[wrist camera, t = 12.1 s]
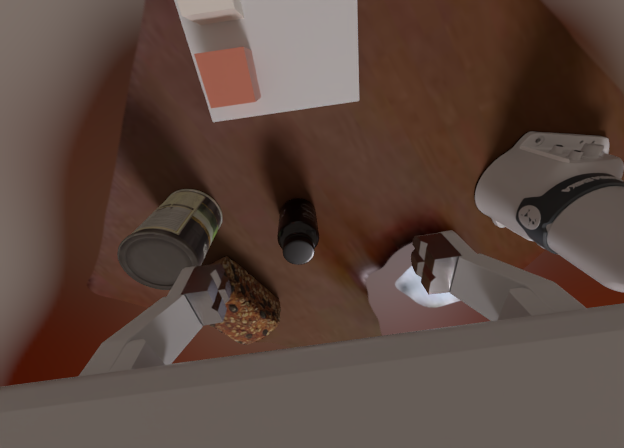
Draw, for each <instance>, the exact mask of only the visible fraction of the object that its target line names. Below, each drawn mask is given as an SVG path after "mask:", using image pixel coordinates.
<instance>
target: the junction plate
mask: <svg viewBox="0 0 624 448" xmlns="http://www.w3.org/2000/svg"><path fill="white" fill-rule="evenodd" d="M174 1H175V4H176V7H177V10H178V14H179V17H180V20H181V23H182V26H183V29H184V32H185V36H186V39H187V42H188V45H189V48H190V51H191V54H192V58H193V61H194V64H195V67H196V70H197V73H198V76H199V80H200V83H201V86H202V89H203V92H204V95H205V98H206V102H207V105H208V108H209V111H210V114H211V117H212V120H213V122H218V121H225V120H231V119H238V118H245V117H252V116H259V115H266V114H273V113H280V112H286V111H293V110H300V109H307V108H314V107H321V106H328V105H334V104H341V103H348V102H355V101H359V66H358V17H357V0H241V5H242V10H243V14H244V19H238V20H231V21H224V22H218V23H211V24H204V25H199V24H197V23H195V22H193V21H191V20H189V19H187V18H185V17H183V16H182V15H181V12H180V9H179V6H178V2H177V0H174ZM237 47H245V48H248V49H250V50H251V51H252V56H253V60H254V65H255V70H256V75H257V80H258V84H259V89H260V94H261V98H260V99H259V100H257V101H256V102H252V103H245V104H238V105H231V106H224V107H217V108H211V106H210V103H209V100H208V97H207V94H206V91H205V87H204V84H203V81H202V78H201V75H200V71H199V68H198V65H197V62H196V59H195V55H194V54H197V53H204V52H210V51H217V50H224V49H230V48H237Z"/></svg>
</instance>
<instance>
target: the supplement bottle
mask: <svg viewBox="0 0 624 448" xmlns="http://www.w3.org/2000/svg"><path fill="white" fill-rule="evenodd" d="M318 241H319V232H318V225H317V218H316V212H315V208H314V207H313V205H312V204H311V203H310V202H309V201H307V200H305V199H300V198H295V199H291V200H289V201H287V202H286V203H285V204H284V205H283V206H282V208H281V210H280V217H279V226H278V243H279V245H280V247H281V248H282V249H283V256H284V258H285V259H286V260H287V261H288V262H290V263H292V264H298V265H299V264H305V263H307V262H309V261H310V260H311V259H312V258H313V256H314V249H315V247H316V246H317V244H318Z"/></svg>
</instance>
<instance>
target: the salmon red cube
mask: <svg viewBox="0 0 624 448" xmlns="http://www.w3.org/2000/svg"><path fill="white" fill-rule="evenodd" d="M194 55H195V59H196V62H197V65H198V68H199V71H200V75H201V78H202V81H203V84H204V87H205V91H206V94H207V97H208V100H209V103H210V106H211V108H217V107H224V106H231V105H238V104H245V103H252V102H256V101H257V100H259V99H260V98H261V94H260V89H259V84H258V80H257V75H256V70H255V65H254V60H253V56H252V51H251V50H250V49H248V48H245V47H237V48H230V49H224V50H217V51H210V52H204V53H197V54H194Z"/></svg>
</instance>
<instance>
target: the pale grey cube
mask: <svg viewBox="0 0 624 448" xmlns="http://www.w3.org/2000/svg"><path fill="white" fill-rule="evenodd" d="M177 2H178V6H179V9H180V12H181V15H182V16H183V17H185V18H187V19H189V20H191V21H193V22H195V23H197V24H199V25H204V24H211V23H218V22H224V21H231V20H238V19H244V14H243V10H242V5H241V0H177Z"/></svg>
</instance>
